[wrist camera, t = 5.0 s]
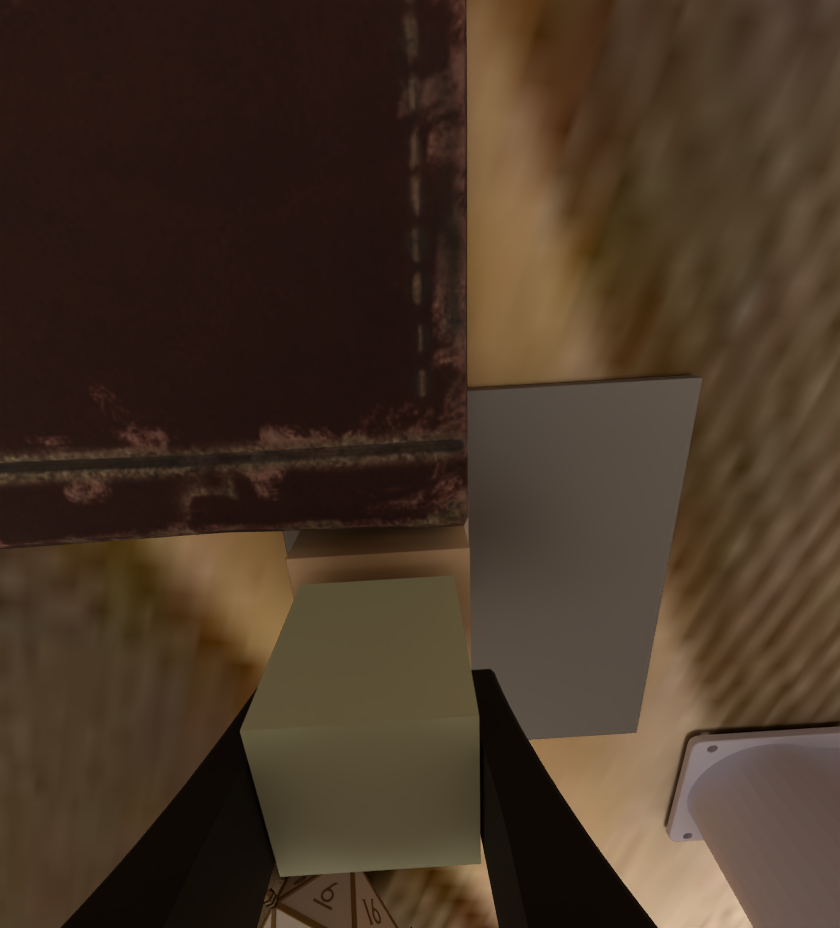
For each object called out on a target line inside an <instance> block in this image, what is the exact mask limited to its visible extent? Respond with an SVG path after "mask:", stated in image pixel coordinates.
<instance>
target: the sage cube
mask: <svg viewBox="0 0 840 928" xmlns="http://www.w3.org/2000/svg"><path fill="white" fill-rule="evenodd" d="M240 734H241V738H242V741H243V745H244V748H245V752H246V756H247V759H248V763H249V766H250V770H251V774H252V777H253V781H254V784H255V788H256V792H257V795H258V799H259V802H260V806H261V810H262V813H263V817H264V820H265V824H266V828H267V831H268V835H269V838H270V842H271V846H272V849H273V853H274V856H275V860H276V864H277V867H278V871H279V874H280V877H287V876H302V875H317V874H332V873H348V872H363V871H378V870H393V869H408V868H424V867H439V866H454V865H469V864H481V849H480V744H479V712H478V706H477V701H476V695H475V689H474V684H473V678H472V672H471V667H470V661H469V655H468V650H467V644H466V639H465V633H464V627H463V622H462V616H461V610H460V605H459V599H458V593H457V588H456V582H455V577H454V575H451V576H435V577H419V578H402V579H386V580H370V581H354V582H338V583H322V584H305V585H300V586H299V589H298V591H297V594H296V596H295V599H294V601H293V603H292V606H291V608H290V611H289V613H288V616H287V618H286V620H285V623H284V625H283V628H282V630H281V632H280V635H279V637H278V640H277V642H276V645H275V647H274V649H273V652H272V654H271V657H270V659H269V662H268V664H267V666H266V669H265V671H264V674H263V676H262V679H261V681H260V683H259V686H258V688H257V691H256V693H255V695H254V698H253V700H252V703H251V705H250V708H249V710H248V712H247V715H246V717H245V720H244V722H243V725H242V727H241V729H240Z"/></svg>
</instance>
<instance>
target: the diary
mask: <svg viewBox="0 0 840 928" xmlns="http://www.w3.org/2000/svg"><path fill="white" fill-rule="evenodd" d="M467 440H468V431H467V37H466V0H0V549H10V548H23V547H37V546H50V545H64V544H77V543H91V542H104V541H117V540H131V539H144V538H158V537H171V536H185V535H198V534H212V533H225V532H264V531H309V530H353V529H398V528H436V527H455V526H464V525H465V523H466V521H467V518H468V453H467Z"/></svg>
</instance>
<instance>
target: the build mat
mask: <svg viewBox="0 0 840 928" xmlns="http://www.w3.org/2000/svg"><path fill="white" fill-rule="evenodd" d="M701 383H702V377H698V376H693V375H682V376H665V377H648V378H631V379H614V380H596V381H579V382H562V383H545V384H528V385H511V386H494V387H477V388H467V431H468V440H467V453H468V518H467V521H466V523H465V525H464V528H465V532H466V536H467V540H468V543H469V547H470V611H471V670H479V669H491V670H492V671H493V672H495V675H496V677H497V680H498V682H499V684H500V687H501V689H502V691H503V693H504V695H505V697H506V699H507V701H508V703H509V705H510V707H511V709H512V711H513V713H514V715H515V717H516V719H517V721H518V723H519V724H520V726H521V728H522V730H523V732H524V733H525V735H526V737H527V739H528V740H531V739H546V738H562V737H578V736H593V735H609V734H625V733H636V732H637V726H638V721H639V716H640V710H641V705H642V700H643V694H644V689H645V683H646V678H647V673H648V667H649V662H650V657H651V651H652V646H653V641H654V635H655V630H656V625H657V619H658V614H659V608H660V603H661V598H662V592H663V587H664V582H665V576H666V571H667V566H668V560H669V555H670V550H671V544H672V539H673V533H674V528H675V523H676V517H677V512H678V507H679V501H680V496H681V491H682V485H683V480H684V475H685V469H686V464H687V458H688V453H689V448H690V442H691V437H692V432H693V426H694V421H695V416H696V410H697V405H698V400H699V394H700V389H701ZM299 532H300V531H283V535H284V540H285V545H286V550H287V555H288V554H289V552H290V550H291V548H292V546H293V544H294V542H295V540H296V538H297V536H298V534H299Z"/></svg>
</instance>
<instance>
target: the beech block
mask: <svg viewBox="0 0 840 928" xmlns="http://www.w3.org/2000/svg"><path fill="white" fill-rule="evenodd" d="M286 562H287V567H288V572H289V577H290V583H291V588H292V593H293V598H294V599H295V596H296V594H297V591H298V589H299V586H300V585H305V584H322V583H338V582H354V581H370V580H386V579H402V578H419V577H435V576H451V575H454V577H455V582H456V588H457V593H458V599H459V605H460V610H461V616H462V622H463V627H464V633H465V639H466V644H467V650H468V655H469V661H470V667H471V611H470V547H469V543H468V540H467V536H466V532H465V528H464V526H455V527H436V528H398V529H353V530H309V531H300V532H299V534H298V536H297V538H296V540H295V542H294V544H293V546H292V548H291V550H290V552H289V554H288V556H287V558H286Z"/></svg>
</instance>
